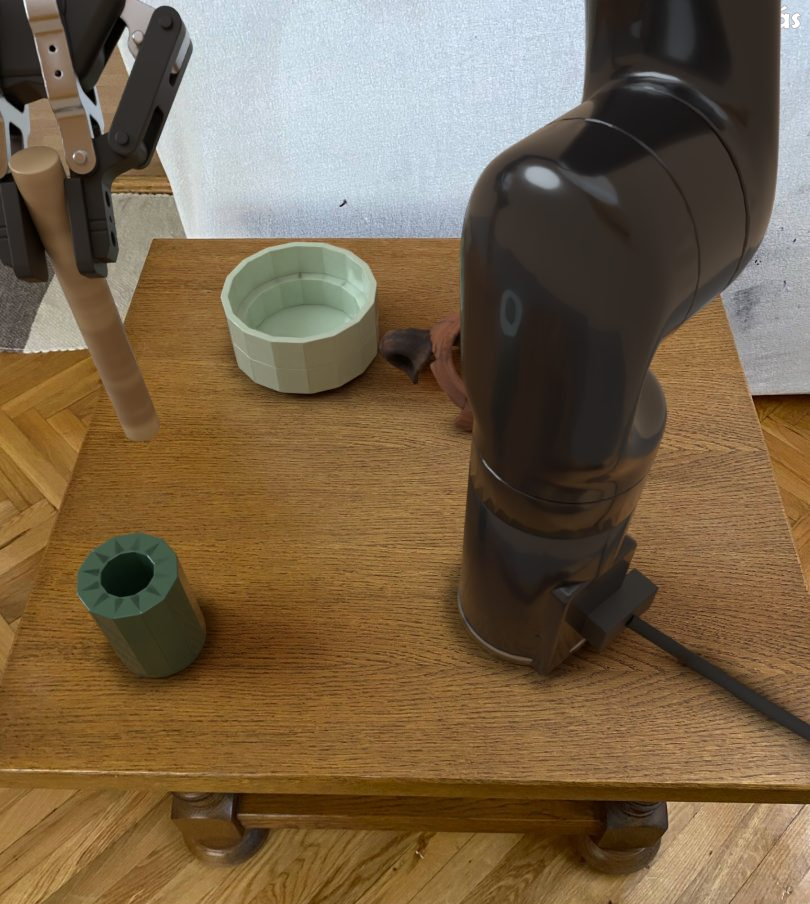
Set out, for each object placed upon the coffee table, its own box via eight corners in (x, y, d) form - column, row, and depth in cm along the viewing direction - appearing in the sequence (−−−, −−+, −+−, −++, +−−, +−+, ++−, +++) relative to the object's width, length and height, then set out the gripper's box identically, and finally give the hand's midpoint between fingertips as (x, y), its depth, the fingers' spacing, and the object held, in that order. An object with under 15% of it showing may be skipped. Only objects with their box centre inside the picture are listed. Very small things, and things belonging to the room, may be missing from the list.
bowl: (408, 351, 70) (407, 293, 65) (292, 421, 65) (281, 365, 60) (320, 281, 75) (314, 223, 70) (207, 342, 70) (192, 285, 65)
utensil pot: (223, 641, 54) (196, 577, 48) (146, 695, 52) (107, 636, 45) (176, 585, 57) (145, 516, 50) (101, 634, 55) (58, 569, 48)
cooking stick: (167, 429, 46) (68, 159, 33) (136, 447, 45) (21, 179, 32) (148, 410, 47) (44, 139, 34) (117, 427, 46) (-1, 157, 33)
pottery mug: (510, 343, 71) (548, 305, 63) (502, 450, 69) (541, 425, 61) (373, 319, 68) (395, 276, 60) (363, 430, 67) (384, 401, 59)
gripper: (-264, -254, 28) (-156, 279, 31) (149, -270, 28) (212, 252, 32) (-136, -119, 35) (-59, 300, 38) (190, -135, 36) (237, 277, 39)
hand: (63, 276), depth 35 cm, fingers closed on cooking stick, 2 cm apart
